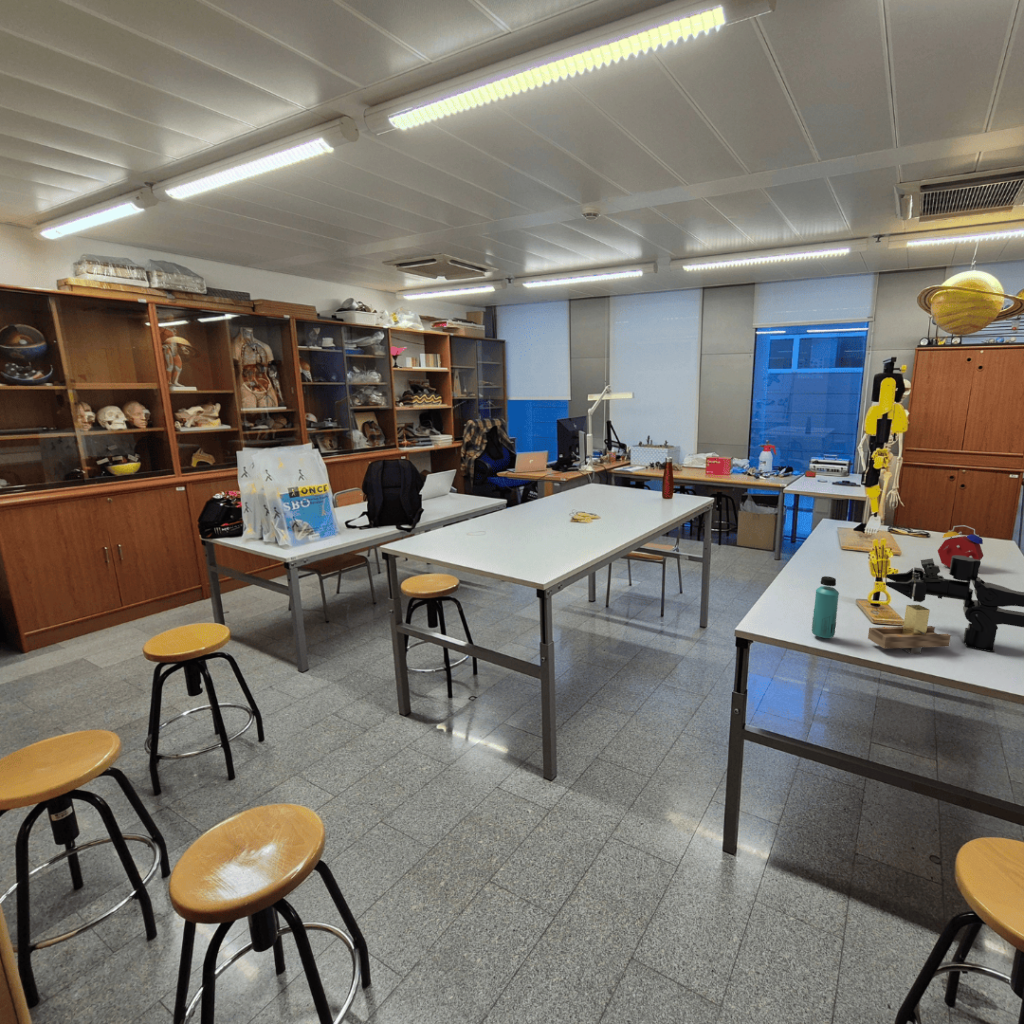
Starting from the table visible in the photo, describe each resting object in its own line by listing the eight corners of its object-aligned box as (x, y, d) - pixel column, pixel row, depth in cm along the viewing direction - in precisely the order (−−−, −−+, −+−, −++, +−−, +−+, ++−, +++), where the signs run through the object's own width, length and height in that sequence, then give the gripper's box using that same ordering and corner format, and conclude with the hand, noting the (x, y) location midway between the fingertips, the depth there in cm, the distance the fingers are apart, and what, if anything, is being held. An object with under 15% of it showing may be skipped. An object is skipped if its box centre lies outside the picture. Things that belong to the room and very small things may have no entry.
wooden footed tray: (929, 642, 170) (931, 625, 169) (947, 652, 164) (950, 635, 162) (866, 644, 169) (869, 627, 168) (883, 654, 162) (885, 637, 161)
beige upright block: (911, 631, 169) (915, 603, 167) (928, 640, 163) (933, 611, 161) (899, 631, 169) (903, 603, 167) (915, 640, 162) (920, 611, 160)
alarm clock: (981, 572, 240) (988, 527, 236) (973, 575, 235) (981, 530, 231) (940, 564, 252) (947, 521, 248) (932, 567, 247) (939, 523, 243)
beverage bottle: (831, 644, 169) (838, 582, 165) (807, 638, 174) (814, 577, 170) (836, 637, 174) (843, 577, 170) (813, 632, 178) (819, 572, 174)
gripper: (948, 556, 176) (889, 549, 184) (953, 570, 161) (888, 562, 169) (943, 589, 178) (885, 581, 187) (947, 607, 163) (884, 597, 171)
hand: (886, 579), depth 178 cm, fingers open, 9 cm apart
